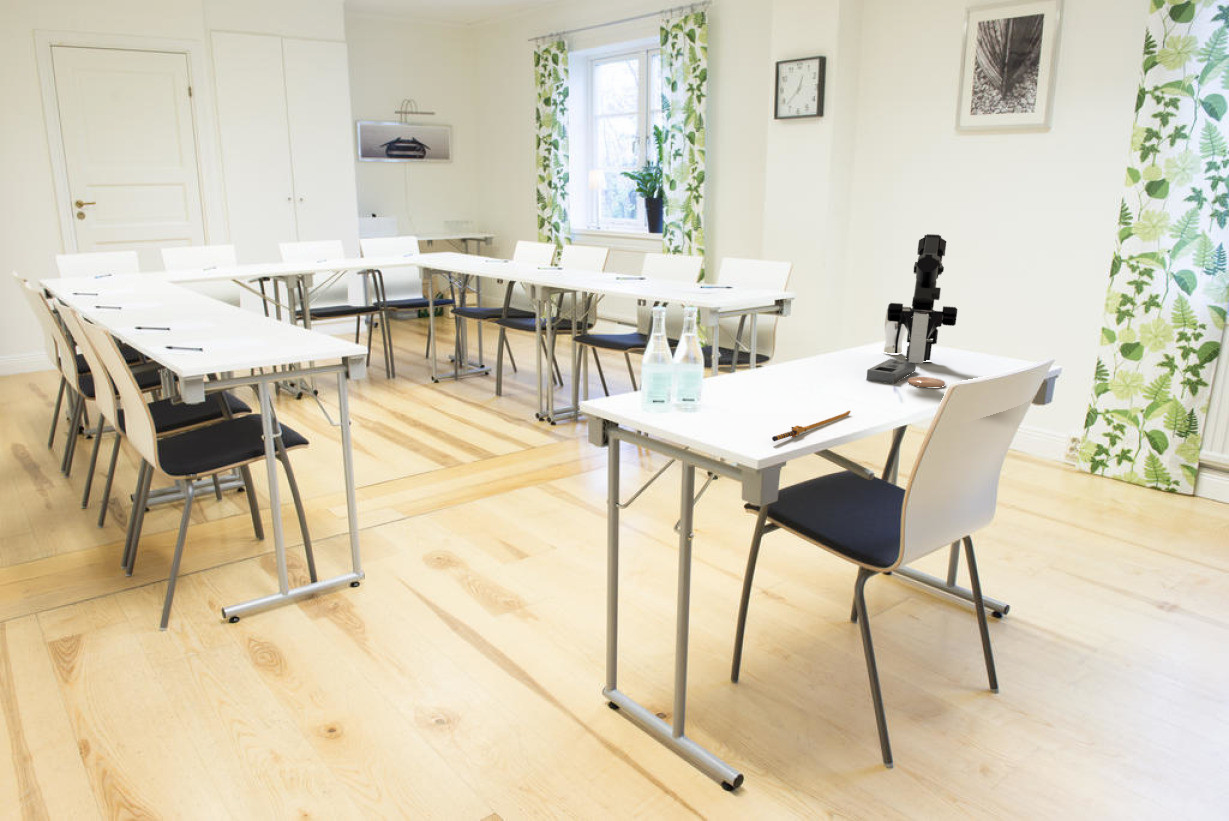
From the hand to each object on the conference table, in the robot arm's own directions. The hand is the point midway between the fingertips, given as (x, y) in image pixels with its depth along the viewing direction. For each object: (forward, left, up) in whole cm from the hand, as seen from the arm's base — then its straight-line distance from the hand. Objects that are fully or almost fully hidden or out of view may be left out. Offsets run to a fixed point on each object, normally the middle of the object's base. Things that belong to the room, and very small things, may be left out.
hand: (918, 337), depth 242 cm
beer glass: (-11, -44, -14) cm, 47 cm away
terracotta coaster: (-4, 0, -13) cm, 14 cm away
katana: (+42, +45, -14) cm, 63 cm away
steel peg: (-1, -1, -7) cm, 7 cm away
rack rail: (+2, -11, -13) cm, 17 cm away
